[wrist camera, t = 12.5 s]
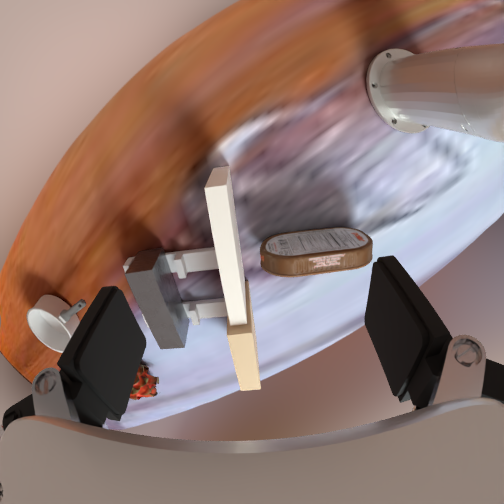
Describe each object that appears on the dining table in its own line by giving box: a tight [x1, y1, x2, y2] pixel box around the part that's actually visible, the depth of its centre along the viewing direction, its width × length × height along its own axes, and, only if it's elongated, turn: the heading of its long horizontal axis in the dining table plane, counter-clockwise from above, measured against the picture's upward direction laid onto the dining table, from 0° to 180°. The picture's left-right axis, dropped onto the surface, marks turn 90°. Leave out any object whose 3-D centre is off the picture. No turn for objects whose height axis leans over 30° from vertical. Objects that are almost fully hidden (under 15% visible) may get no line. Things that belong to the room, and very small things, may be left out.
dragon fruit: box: [130, 364, 161, 400], centre depth 47 cm, size 8×8×12 cm
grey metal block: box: [125, 247, 189, 349], centre depth 38 cm, size 4×14×6 cm, turn 8°
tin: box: [260, 227, 373, 277], centre depth 34 cm, size 15×3×8 cm, turn 96°
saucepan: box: [27, 295, 86, 353], centre depth 40 cm, size 12×20×6 cm, turn 122°
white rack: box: [123, 166, 261, 391], centre depth 35 cm, size 18×30×11 cm, turn 6°
